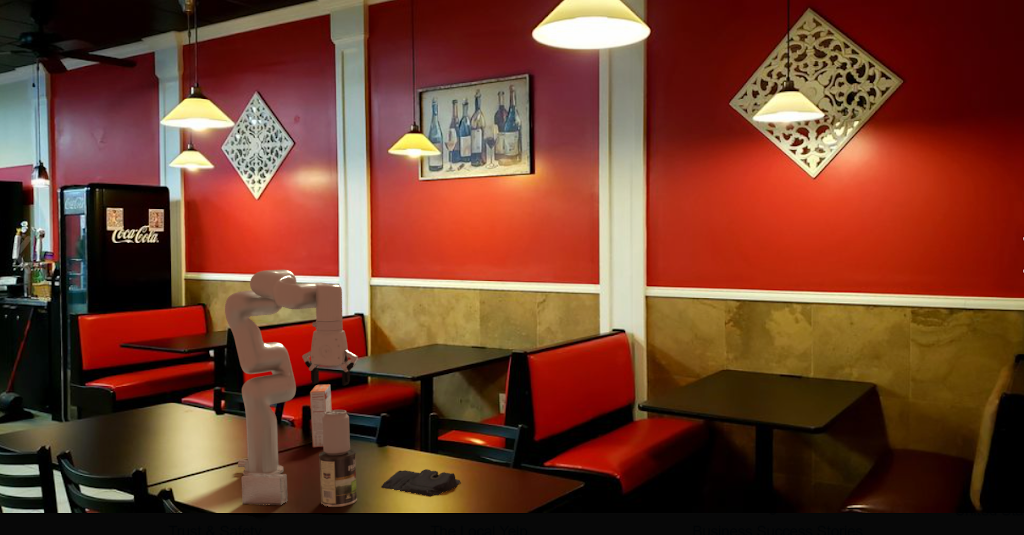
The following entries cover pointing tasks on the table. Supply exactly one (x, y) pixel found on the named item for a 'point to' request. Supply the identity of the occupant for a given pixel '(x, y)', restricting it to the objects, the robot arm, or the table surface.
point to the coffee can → (338, 479)
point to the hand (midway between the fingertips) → (330, 383)
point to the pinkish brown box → (264, 489)
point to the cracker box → (319, 411)
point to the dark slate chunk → (422, 482)
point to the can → (336, 432)
